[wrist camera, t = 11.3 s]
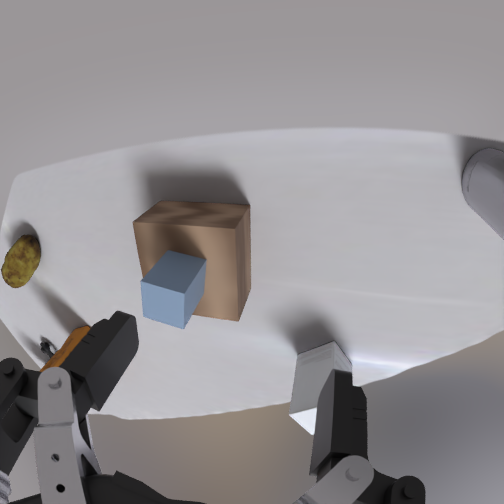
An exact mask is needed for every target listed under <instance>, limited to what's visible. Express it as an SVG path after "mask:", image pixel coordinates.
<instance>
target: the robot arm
mask: <svg viewBox="0 0 504 504" xmlns="http://www.w3.org/2000/svg"><path fill="white" fill-rule="evenodd" d="M462 188H463V194H464V197H465V200H466V201H467V203H468V205H469V206H470V207H471V208H472V209H473V210H474V211H475V212H476V213H477V214H478V215H479V216H480V217H481V218H482V219H483V220H484V221H485V222H486V223H487V224H488V225H489V226H490V227H491V228H492V229H493V230H494V231H495V232H496V233H497V234H498V235H499V236H500V237H501V238H502V239H503V240H504V152H501V151H499V150H497V149H492V148H489V149H483V150H481V151H479V152H477V153H476V154H474V155H473V157H472V158H471V159H470V160H469V162H468V163H467V165H466V167H465V170H464V173H463V178H462ZM138 345H139V339H138V332H137V324H136V318H135V316H133V315H130V314H127V313H124V312H121V311H116V312H115V313H114V314H113V315H112V317H111V318H110V319H109V320H107V319H103V320H101V321H99V322H97V323H96V324H94V325H93V326H92V327H91V329H90V330H89V331H88V332H87V335H85V336H84V337H83V338H82V339H81V341H80V342H79V343H78V344H77V345H76V347H75V348H74V349H73V350H72V352H71V353H70V354H69V355H68V357H67V358H66V359H65V360H64V362H63V363H62V364H61V365H60V366H59V367H51V368H48V369H46V370H44V371H43V372H39V371H33V370H28V369H24V367H23V365H22V363H21V362H20V361H19V360H18V359H15V358H6V359H4V360H3V361H1V362H0V504H205V503H201V502H193V501H182V500H172V499H168V498H166V497H164V496H162V495H161V494H159V493H158V492H156V491H155V490H153V489H152V488H150V487H149V486H147V485H146V484H144V483H143V482H141V481H139V480H136V479H134V478H132V477H129V476H127V475H125V474H122V473H120V472H118V471H116V473H115V474H114V475H107V474H102V472H101V468H100V465H99V463H98V460H97V458H96V455H95V452H94V447H93V443H92V437H91V431H90V425H89V420H88V414H87V413H88V411H89V410H90V408H93V409H95V410H97V411H100V410H101V408H102V406H103V405H104V403H105V402H106V400H107V398H108V397H109V395H110V394H111V392H112V391H113V389H114V387H115V386H116V384H117V383H118V381H119V379H120V378H121V376H122V375H123V373H124V372H125V370H126V369H127V367H128V365H129V364H130V362H131V361H132V359H133V358H134V356H135V354H136V352H137V350H138ZM12 403H13V404H12ZM10 406H11V407H10ZM8 409H9V410H8ZM366 410H367V401H366V396H365V394H364V392H363V390H362V388H361V387H357V386H353V384H352V372H349V371H343V370H338V369H332V370H331V372H330V374H329V376H328V378H327V380H326V382H325V384H324V386H323V388H322V390H321V392H320V395H319V398H318V403H317V412H316V422H315V432H314V441H313V449H312V457H311V465H310V473H309V475H311V476H317V481H316V484H315V485H314V486H313V487H312V488H311V489H310V490H308V491H307V492H306V493H305V494H304V495H303V496H301V497H300V498H299V499H298V500H296V501H295V502H294V503H293V504H425V487H424V485H423V483H422V482H421V481H420V480H419V479H418V478H416V477H414V476H404V477H401V478H399V479H395V478H392V477H389V476H386V475H384V474H381V473H379V472H378V471H376V470H375V469H374V468H373V467H372V465H371V464H370V462H369V460H368V456H367V412H366ZM6 412H7V413H6ZM4 415H5V416H4ZM38 423H39V424H38ZM37 424H38V426H37ZM33 431H34V445H35V456H36V465H37V472H38V480H39V486H40V492H41V493H40V494H37V495H34V496H30V497H27V498H24V499H21V500H17V501H14V502H10V503H9V500H8V496H9V495H10V494H11V487H10V481H9V478H8V476H9V473H10V472H11V470H12V468H13V466H14V464H15V463H16V461H17V459H18V457H19V455H20V453H21V452H22V450H23V448H24V446H25V445H26V443H27V441H28V439H29V438H30V436H31V434H32V433H33Z"/></svg>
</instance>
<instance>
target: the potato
mask: <svg viewBox="0 0 504 504" xmlns="http://www.w3.org/2000/svg"><path fill="white" fill-rule="evenodd" d="M40 257H41V254H40V248H39V244H38V241H37V240H36V239H35V237H34V236H32V235H23V236H21V238H19V239H18V240H17V241H16V243H15V244H14V245H13V246H12V248H11V249H10V250H9V251H8V252H7V254H6V256H5V262H4V264H3V266H2V269H1V271H2V276H3V279H4V281H5V282H6V283H7V284H8V285H10V286H11V287H12V288H19V287H21V286H24V285H25V284H26V283H27V282H28V281H29V280H30V278H31V277H32V275H33V273H34V271H35V270H36V269H37V267H38V265H39V262H40Z"/></svg>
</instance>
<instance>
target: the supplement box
mask: <svg viewBox="0 0 504 504" xmlns="http://www.w3.org/2000/svg"><path fill="white" fill-rule="evenodd" d="M332 369H338V370H343V371H349V372H352V365H351V363H350V362H349V360H348V359H347V357H346V356H345V355H344V353H343V352H342V351H341V349H340V348H339V346H338V345H337V344H336V342H335V341H333V342H330V343H328V344H325V345H322V346H320V347H317V348H314V349H312V350H309V351H306V352H303V353H301V354H299V355H298V356H297V363H296V370H295V377H294V384H293V391H292V398H291V404H290V411H289V415H290V416H291V417H292V418H293V419H294V420H295V421H296V422H298V423H299V424H300V425H301V426H302V427H303V428H304V429H305V430H307V431H308V432H309V433H310V434H311V435H313V434H314V432H315V422H316V412H317V403H318V398H319V395H320V392H321V390H322V388H323V386H324V384H325V382H326V380H327V378H328V376H329V374H330V372H331V370H332Z"/></svg>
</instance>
